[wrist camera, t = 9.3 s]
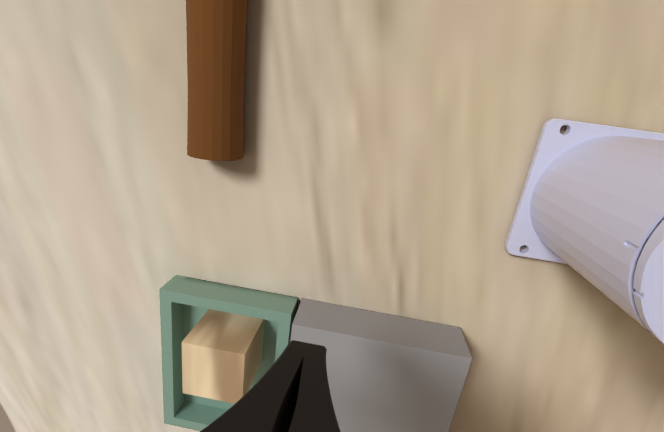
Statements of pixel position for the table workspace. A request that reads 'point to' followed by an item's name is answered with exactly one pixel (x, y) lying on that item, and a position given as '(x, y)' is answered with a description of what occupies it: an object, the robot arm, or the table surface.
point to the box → (181, 317)
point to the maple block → (222, 356)
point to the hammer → (216, 78)
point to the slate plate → (386, 367)
